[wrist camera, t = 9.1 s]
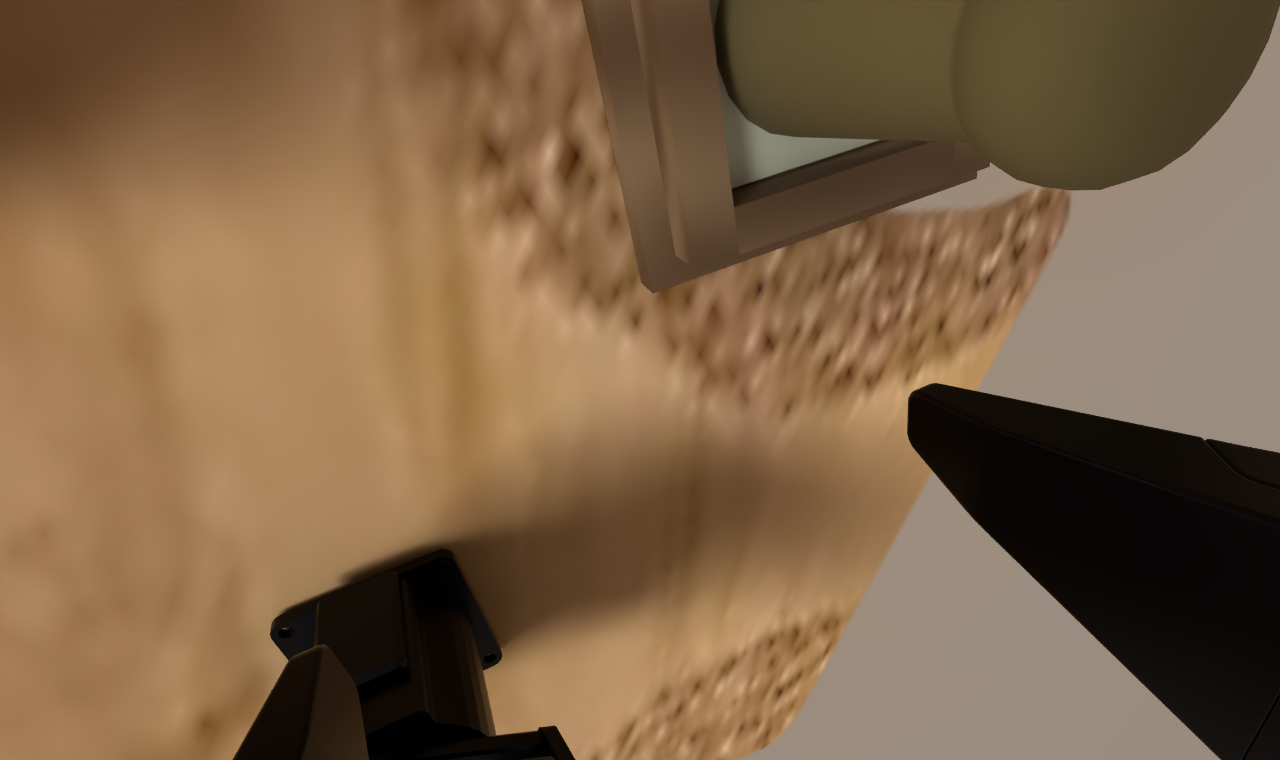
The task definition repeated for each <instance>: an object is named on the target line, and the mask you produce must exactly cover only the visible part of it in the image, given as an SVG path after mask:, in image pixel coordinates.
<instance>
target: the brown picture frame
mask: <svg viewBox="0 0 1280 760" xmlns="http://www.w3.org/2000/svg"><path fill="white" fill-rule="evenodd" d="M582 4H583V9H584V13H585V18H586V23H587V27H588V32H589V37H590V42H591V46H592V51H593V56H594V60H595V65H596V70H597V75H598V79H599V84H600V89H601V93H602V98H603V103H604V108H605V112H606V117H607V122H608V127H609V131H610V136H611V141H612V145H613V150H614V155H615V160H616V164H617V169H618V174H619V178H620V183H621V188H622V193H623V197H624V202H625V207H626V211H627V216H628V221H629V226H630V230H631V235H632V240H633V244H634V249H635V254H636V259H637V263H638V268H639V273H640V277H641V282H642V284H643V285H644V286H645V287H647V288H648V289H649V290H650V291H651V292H652V293H655V292H658V291H661V290H663V289H666V288H669V287H672V286H675V285H678V284H680V283H683V282H686V281H689V280H692V279H694V278H697V277H700V276H703V275H706V274H709V273H711V272H714V271H717V270H720V269H723V268H725V267H728V266H731V265H734V264H737V263H740V262H742V261H745V260H748V259H751V258H754V257H756V256H759V255H762V254H765V253H768V252H771V251H773V250H776V249H779V248H782V247H785V246H787V245H790V244H793V243H796V242H799V241H801V240H804V239H807V238H810V237H813V236H816V235H818V234H821V233H824V232H827V231H830V230H832V229H835V228H838V227H841V226H844V225H847V224H849V223H852V222H855V221H858V220H861V219H863V218H866V217H869V216H872V215H875V214H878V213H880V212H883V211H886V210H889V209H892V208H894V207H897V206H900V205H903V204H906V203H909V202H911V201H914V200H917V199H920V198H923V197H925V196H928V195H931V194H934V193H937V192H939V191H942V190H945V189H948V188H951V187H954V186H956V185H959V184H962V183H965V182H967V181H970V180H973V179H976V178H977V171H978V170H981V169H984V168H987V167H989V164H990V161H988V160H987V159H986V158H984V157H983V156H982V155H980V154H979V153H978V152H976V151H975V150H974V149H973V147H972V145H971V143H966V142H935V141H903V140H871V139H839V138H808V137H791V136H784V135H777V134H770V133H768V132H767V131H765V130H763V129H762V128H760V127H758V126H756V125H755V124H753V123H751V122H750V121H748V120H747V119H746V118H745V117H744V115H743V114H742V113H741V112H740V110H739V109H738V108H737V106H736V105H735V104H734V103H733V101H732V100H731V99H730V98H729V96H728V94H727V91H726V88H725V85H724V82H723V80H722V77H721V74H720V71H719V68H718V66H717V57H716V43H715V29H714V26H715V20H716V15H717V9H718V4H719V0H582Z"/></svg>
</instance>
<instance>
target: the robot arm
mask: <svg viewBox="0 0 1280 760" xmlns="http://www.w3.org/2000/svg"><path fill="white" fill-rule="evenodd" d="M907 434H908V438H909V441H910V443H911V445H912V447H913V448H914V449H915V451H916V452H917V453H918V454H919V455H920V457H921V458H922V459H923V460H924V461H925V462H926V464H927V465H928V466H929V467H930V468H931V470H932V471H933V472H934V473H935V474H936V476H937V477H938V478H939V479H940V480H941V482H942V483H943V484H944V485H945V486H946V487H947V489H948V490H949V491H950V492H951V493H952V495H953V496H954V497H955V498H956V499H957V501H958V502H959V503H960V504H961V505H962V506H963V508H964V509H965V510H966V511H967V512H968V513H969V514H970V515H971V517H972V518H973V519H974V520H975V521H976V522H977V523H978V524H979V525H980V526H981V527H982V528H983V529H984V530H985V531H986V532H987V533H988V534H989V535H990V536H991V537H992V538H993V539H994V540H995V541H996V542H997V543H998V544H999V545H1000V546H1001V547H1002V548H1003V549H1004V550H1006V552H1008V553H1009V554H1010V555H1011V556H1012V557H1013V558H1014V559H1015V560H1016V561H1017V562H1018V563H1019V564H1020V565H1021V566H1022V567H1023V568H1024V569H1025V570H1026V571H1027V572H1028V573H1029V574H1030V575H1031V576H1032V577H1033V578H1034V579H1035V580H1036V581H1037V582H1038V583H1039V584H1040V585H1041V586H1043V587H1044V588H1045V589H1046V590H1047V591H1048V592H1049V593H1050V594H1051V595H1052V596H1053V597H1054V598H1055V599H1056V600H1057V601H1058V602H1059V603H1060V604H1061V605H1062V606H1063V607H1064V608H1065V609H1066V610H1067V611H1068V612H1069V613H1070V614H1071V615H1072V616H1073V617H1074V618H1075V619H1076V620H1078V621H1079V622H1080V623H1081V624H1082V625H1083V626H1084V627H1085V628H1086V629H1087V630H1088V631H1089V632H1090V633H1091V634H1092V635H1093V636H1094V637H1095V638H1096V639H1097V640H1098V641H1099V642H1100V643H1101V644H1102V645H1103V646H1104V647H1106V649H1107V650H1108V651H1109V652H1110V653H1111V654H1113V655H1114V656H1115V657H1116V658H1117V659H1118V660H1119V661H1120V662H1121V663H1122V664H1123V665H1124V666H1125V667H1126V668H1127V669H1128V670H1129V671H1130V672H1131V673H1132V674H1133V675H1134V676H1135V677H1136V678H1137V679H1138V680H1139V681H1140V682H1141V683H1142V684H1143V685H1145V687H1147V689H1149V690H1150V691H1151V692H1152V693H1153V694H1154V695H1155V696H1156V697H1157V698H1158V699H1159V700H1160V701H1161V702H1162V703H1163V704H1164V705H1165V706H1166V707H1167V708H1168V709H1169V710H1170V711H1171V712H1172V713H1173V714H1174V715H1175V716H1177V718H1178V719H1180V721H1181V722H1182V723H1184V724H1185V725H1186V726H1187V727H1188V728H1189V729H1190V730H1191V731H1192V732H1193V733H1194V734H1195V735H1196V736H1197V737H1198V738H1199V739H1200V740H1201V741H1202V742H1203V743H1204V744H1205V745H1206V746H1207V747H1208V748H1209V749H1210V750H1211V751H1212V752H1213V753H1214V754H1215V755H1217V756H1218V757H1219V758H1220V759H1221V760H1280V453H1278V452H1273V451H1267V450H1262V449H1257V448H1252V447H1246V446H1241V445H1236V444H1232V443H1227V442H1222V441H1217V440H1213V439H1206V440H1204V439H1203V438H1201V437H1197V436H1192V435H1187V434H1182V433H1178V432H1172V431H1168V430H1163V429H1158V428H1153V427H1148V426H1144V425H1138V424H1134V423H1129V422H1124V421H1119V420H1114V419H1109V418H1105V417H1100V416H1095V415H1090V414H1085V413H1080V412H1075V411H1070V410H1065V409H1060V408H1055V407H1051V406H1045V405H1041V404H1036V403H1031V402H1026V401H1021V400H1016V399H1012V398H1007V397H1002V396H997V395H992V394H987V393H982V392H978V391H973V390H968V389H963V388H958V387H953V386H948V385H943V384H938V383H933V384H929V385H927V386H924V387H922V388H920V389H917V390H915V391H913V392H912V393H911V394H910V396H909V399H908V423H907ZM441 562H446V564H444V565H441V566H439V565H437V564H439V563H441ZM286 627H290V628H291V629H288V630H285V629H282V628H286ZM270 636H271V639H272V640H273V641H274V643H275V644H276V645H277V646H278V648H279V649H280V650H281V651H282V653H283V654H284V655H285V656H286V658H287V659H288V660H289V661H288V663H287V664H286V666H285V668H284V670H283V671H282V673H281V675H280V677H279V679H278V680H277V682H276V684H275V686H274V687H273V689H272V691H271V693H270V694H269V696H268V698H267V700H266V701H265V703H264V705H263V707H262V708H261V710H260V712H259V714H258V716H257V717H256V719H255V721H254V723H253V724H252V726H251V728H250V730H249V731H248V733H247V735H246V737H245V738H244V740H243V742H242V744H241V746H240V747H239V749H238V751H237V753H236V754H235V756H234V758H233V760H575V758H574V757H573V755H572V753H571V751H570V750H569V748H568V746H567V744H566V743H565V741H564V739H563V738H562V736H561V734H560V732H559V731H558V729H557V727H556V726H548V727H539V729H538V731H530V732H521V733H513V734H504V735H496V731H495V726H494V722H493V717H492V712H491V707H490V702H489V697H488V693H487V688H486V683H485V678H484V673H483V670H485V669H488V668H490V667H492V666H494V665H496V664H497V663H498V662H499V661H500V660H501V658H502V652H501V648H500V645H499V643H498V641H497V639H496V637H495V635H494V633H493V631H492V629H491V627H490V625H489V623H488V621H487V619H486V617H485V615H484V613H483V611H482V609H481V607H480V605H479V603H478V601H477V599H476V597H475V595H474V593H473V591H472V589H471V587H470V585H469V583H468V581H467V579H466V577H465V575H464V573H463V571H462V569H461V567H460V565H459V563H458V561H457V559H456V557H455V555H454V554H453V553H452V552H451V551H449V550H443V549H441V550H437V551H435V552H432V553H430V554H427V555H425V556H422V557H420V558H418V559H415V560H413V561H410V562H408V563H405V564H403V565H401V566H398V567H396V568H393V569H391V570H389V571H386V572H384V573H381V574H379V575H376V576H374V577H372V578H369V579H367V580H364V581H362V582H359V583H357V584H355V585H352V586H350V587H347V588H345V589H342V590H340V591H338V592H335V593H333V594H330V595H328V596H326V597H323V598H321V599H318V600H316V601H313V602H311V603H309V604H306V605H304V606H301V607H299V608H296V609H294V610H292V611H289V612H287V613H284V614H282V615H280V616H278V617H276V618H275V619H274V620H273V622H272V625H271V631H270ZM488 654H490V655H488Z"/></svg>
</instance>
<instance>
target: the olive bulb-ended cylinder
mask: <svg viewBox="0 0 1280 760" xmlns="http://www.w3.org/2000/svg"><path fill="white" fill-rule="evenodd" d="M1279 6H1280V0H719V4H718V9H717V15H716V20H715V26H714V29H715V43H716V57H717V66H718V68H719V71H720V74H721V77H722V80H723V82H724V85H725V88H726V91H727V94H728V96H729V98H730V99H731V100H732V101H733V103H734V104H735V105H736V106H737V108H738V109H739V110H740V112H741V113H742V114H743V115H744V117H745V118H746V119H747V120H748V121H750V122H751V123H753V124H755V125H756V126H758V127H760V128H762V129H763V130H765V131H767V132H768V133H770V134H777V135H784V136H791V137H808V138H839V139H871V140H903V141H935V142H966V143H971V145H972V147H973V149H974V150H975V151H976V152H978V153H979V154H980V155H982V156H983V157H984V158H986V159H987V160H988V161H990V162H991V163H992V164H994V165H995V166H997V167H998V168H1000V169H1001V170H1003V171H1004V172H1006V173H1007V174H1009V175H1010V176H1012V177H1013V178H1015V179H1017V180H1020V181H1024V182H1027V183H1031V184H1035V185H1038V186H1042V187H1049V188H1057V189H1065V190H1101V189H1104V188H1107V187H1110V186H1114V185H1117V184H1120V183H1123V182H1126V181H1130V180H1133V179H1136V178H1139V177H1142V176H1145V175H1147V174H1150V173H1153V172H1156V171H1159V170H1161V169H1162V168H1164V167H1165V166H1166V165H1168V164H1170V163H1171V162H1172V161H1174V160H1175V159H1177V158H1178V157H1180V156H1182V155H1183V154H1185V153H1186V152H1188V151H1189V150H1190V149H1191V148H1192V147H1193V146H1194V145H1195V144H1196V143H1197V142H1198V141H1199V140H1200V139H1201V138H1202V137H1203V136H1204V135H1205V134H1206V133H1207V132H1208V131H1209V130H1210V129H1211V128H1212V127H1213V125H1215V124H1216V122H1217V121H1218V120H1219V119H1220V118H1221V117H1222V116H1223V115H1224V113H1225V112H1226V111H1227V109H1228V108H1229V107H1230V105H1231V104H1232V102H1233V101H1234V100H1235V98H1236V97H1237V95H1238V94H1239V92H1240V91H1241V89H1242V88H1243V87H1244V85H1245V84H1246V82H1247V81H1248V79H1249V78H1250V76H1251V74H1252V72H1253V70H1254V68H1255V66H1256V64H1257V62H1258V60H1259V58H1260V56H1261V54H1262V52H1263V50H1264V48H1265V46H1266V44H1267V42H1268V40H1269V37H1270V34H1271V31H1272V28H1273V25H1274V22H1275V19H1276V16H1277V12H1278V10H1279Z"/></svg>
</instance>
